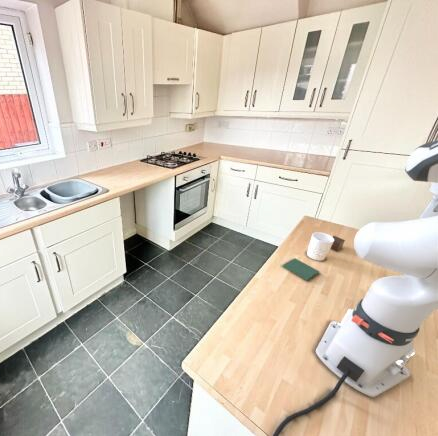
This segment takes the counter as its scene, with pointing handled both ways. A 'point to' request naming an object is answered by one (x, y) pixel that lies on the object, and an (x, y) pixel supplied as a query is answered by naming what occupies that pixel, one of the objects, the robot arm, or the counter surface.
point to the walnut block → (337, 243)
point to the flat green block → (301, 269)
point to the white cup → (319, 246)
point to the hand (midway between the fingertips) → (427, 230)
